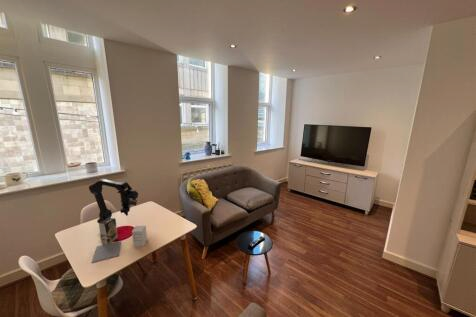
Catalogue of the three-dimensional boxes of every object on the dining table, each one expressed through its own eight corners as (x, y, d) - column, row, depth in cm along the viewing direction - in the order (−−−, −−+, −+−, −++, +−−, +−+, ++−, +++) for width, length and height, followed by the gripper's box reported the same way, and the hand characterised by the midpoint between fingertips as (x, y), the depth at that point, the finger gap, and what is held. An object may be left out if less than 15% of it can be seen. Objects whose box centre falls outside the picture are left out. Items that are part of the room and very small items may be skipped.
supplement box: (137, 240, 148) (135, 225, 146) (147, 240, 149) (146, 225, 146) (133, 246, 141) (131, 231, 139) (143, 246, 142) (142, 230, 139)
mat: (96, 247, 140) (96, 246, 140) (120, 241, 147) (120, 240, 147) (91, 262, 125) (91, 262, 125) (118, 255, 132) (118, 255, 132)
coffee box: (108, 244, 142) (105, 224, 140) (101, 243, 144) (98, 223, 141) (118, 237, 151) (115, 218, 148) (111, 236, 152) (108, 217, 150)
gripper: (135, 200, 151) (137, 218, 155) (136, 192, 168) (138, 208, 171) (119, 203, 147) (121, 221, 150) (121, 194, 163) (123, 211, 166)
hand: (126, 215), depth 159 cm, fingers closed
